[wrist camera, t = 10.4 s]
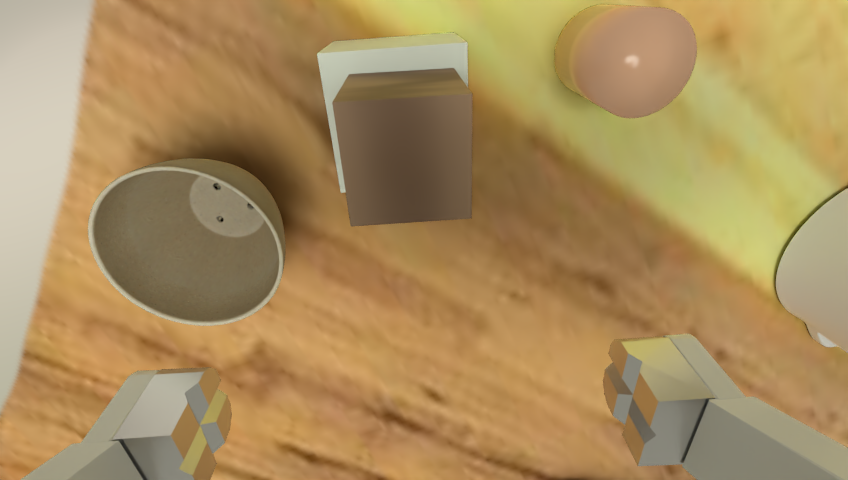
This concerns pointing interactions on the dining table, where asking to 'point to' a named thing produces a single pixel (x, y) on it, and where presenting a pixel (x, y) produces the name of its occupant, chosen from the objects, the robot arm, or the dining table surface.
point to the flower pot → (190, 240)
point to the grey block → (385, 65)
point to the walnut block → (405, 146)
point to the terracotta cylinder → (626, 57)
